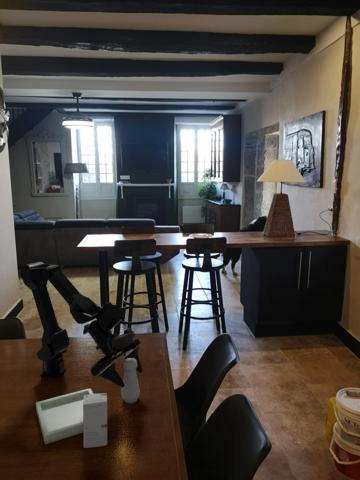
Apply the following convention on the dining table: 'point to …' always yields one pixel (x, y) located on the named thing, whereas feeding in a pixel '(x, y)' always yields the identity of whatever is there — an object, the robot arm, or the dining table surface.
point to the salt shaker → (130, 381)
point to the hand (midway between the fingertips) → (133, 379)
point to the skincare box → (95, 420)
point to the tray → (61, 415)
